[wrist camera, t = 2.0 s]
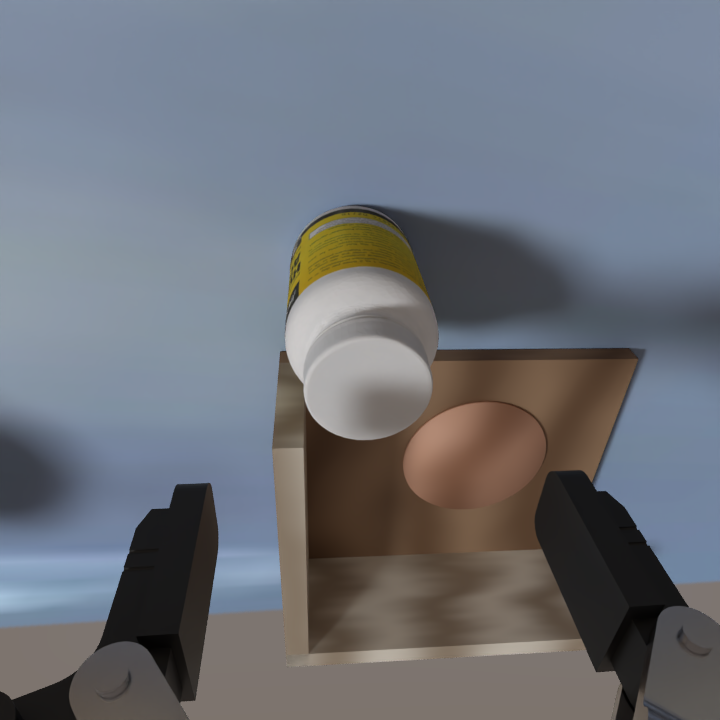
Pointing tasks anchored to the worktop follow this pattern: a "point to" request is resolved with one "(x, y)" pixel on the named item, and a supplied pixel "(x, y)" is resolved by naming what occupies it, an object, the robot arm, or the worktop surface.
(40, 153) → the worktop surface
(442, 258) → the worktop surface
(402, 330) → the supplement bottle
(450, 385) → the wooden l-shaped piece
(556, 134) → the worktop surface
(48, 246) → the worktop surface
